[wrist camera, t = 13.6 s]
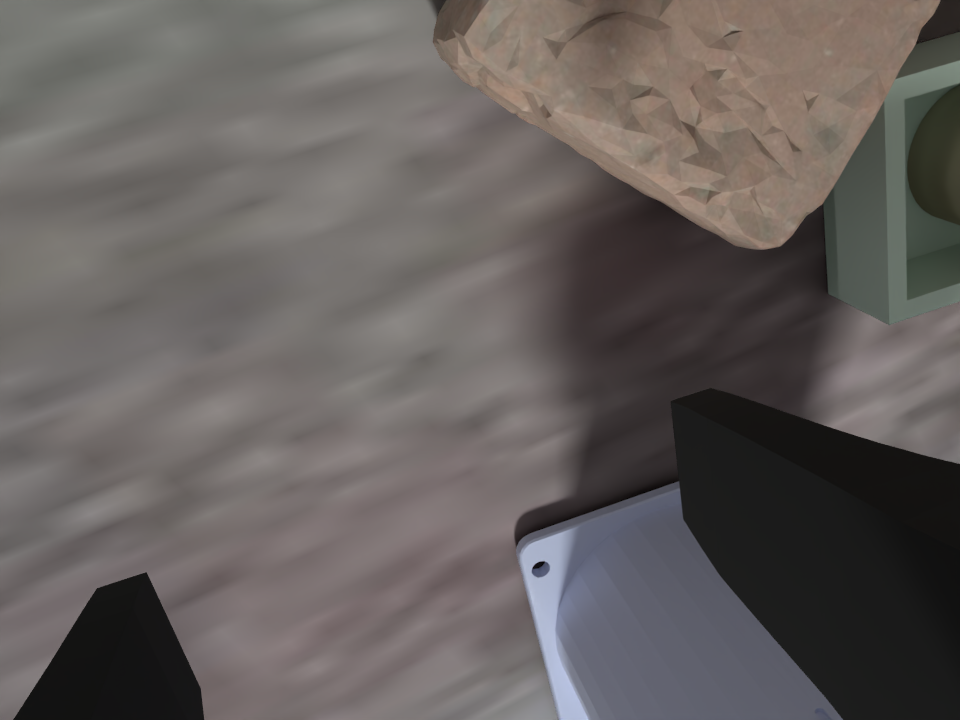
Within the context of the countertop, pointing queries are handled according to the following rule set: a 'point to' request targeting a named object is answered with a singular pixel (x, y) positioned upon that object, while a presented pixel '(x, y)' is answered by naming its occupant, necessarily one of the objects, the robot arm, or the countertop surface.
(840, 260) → the tray
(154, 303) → the countertop surface
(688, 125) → the brick
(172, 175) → the countertop surface
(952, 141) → the dowel
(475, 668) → the countertop surface
